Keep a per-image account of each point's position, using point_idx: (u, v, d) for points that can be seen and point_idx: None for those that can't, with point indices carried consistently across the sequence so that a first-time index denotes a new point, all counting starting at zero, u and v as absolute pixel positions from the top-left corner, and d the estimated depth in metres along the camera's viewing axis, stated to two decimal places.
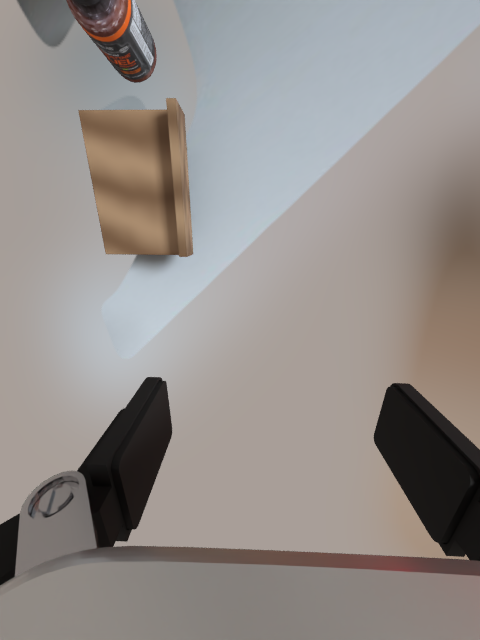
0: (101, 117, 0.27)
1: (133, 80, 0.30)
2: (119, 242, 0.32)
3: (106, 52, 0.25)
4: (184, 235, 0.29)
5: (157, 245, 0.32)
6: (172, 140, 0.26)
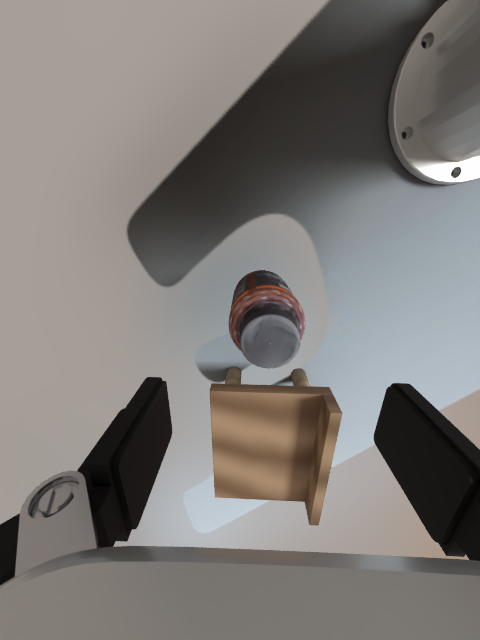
0: (235, 397, 0.23)
1: None
2: (232, 489, 0.28)
3: None
4: (320, 510, 0.25)
5: (276, 493, 0.28)
6: (328, 443, 0.22)
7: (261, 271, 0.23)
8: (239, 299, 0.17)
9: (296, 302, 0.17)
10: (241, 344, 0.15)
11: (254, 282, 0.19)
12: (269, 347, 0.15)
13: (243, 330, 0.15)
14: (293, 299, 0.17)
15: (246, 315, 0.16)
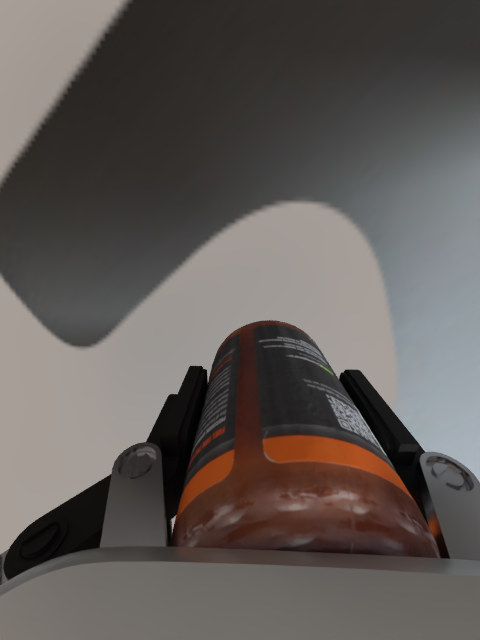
0: None
1: None
2: None
3: None
4: None
5: None
6: None
7: (269, 327, 0.11)
8: (202, 496, 0.05)
9: (422, 527, 0.04)
10: None
11: (255, 388, 0.07)
12: None
13: None
14: (412, 519, 0.04)
15: None
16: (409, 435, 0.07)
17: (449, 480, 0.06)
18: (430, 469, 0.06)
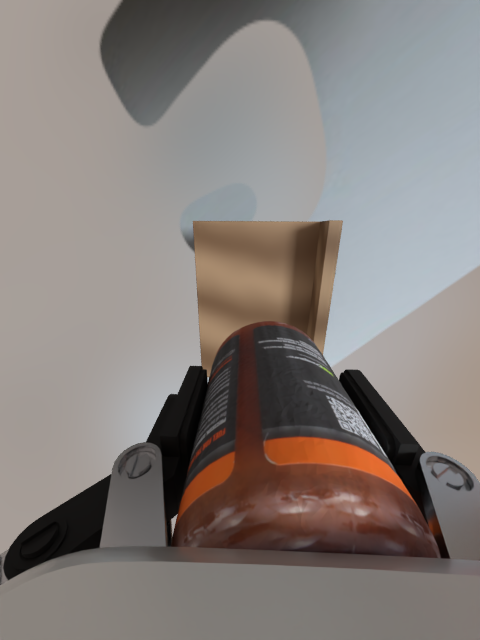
0: (222, 229, 0.20)
1: None
2: None
3: None
4: None
5: None
6: (327, 268, 0.19)
7: (269, 328, 0.11)
8: (202, 499, 0.05)
9: (423, 529, 0.04)
10: None
11: (255, 389, 0.07)
12: None
13: None
14: (413, 521, 0.04)
15: None
16: (409, 435, 0.07)
17: (450, 480, 0.06)
18: (430, 469, 0.06)
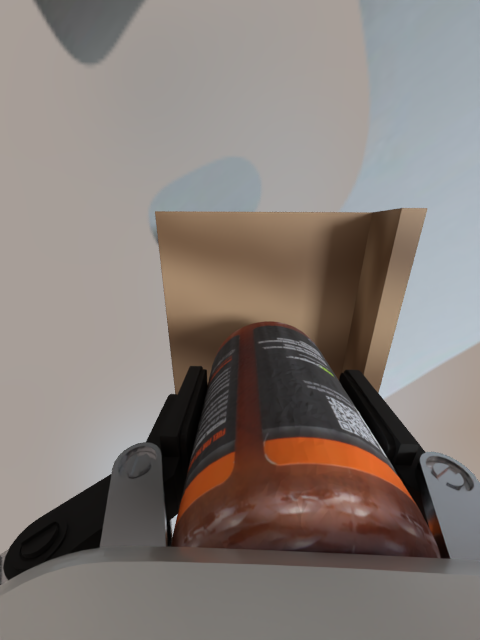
0: (205, 226, 0.12)
1: None
2: None
3: None
4: None
5: None
6: (388, 295, 0.11)
7: (269, 328, 0.11)
8: (202, 499, 0.05)
9: (423, 529, 0.04)
10: None
11: (255, 390, 0.07)
12: None
13: None
14: (413, 521, 0.04)
15: None
16: (409, 435, 0.07)
17: (449, 480, 0.06)
18: (430, 469, 0.06)
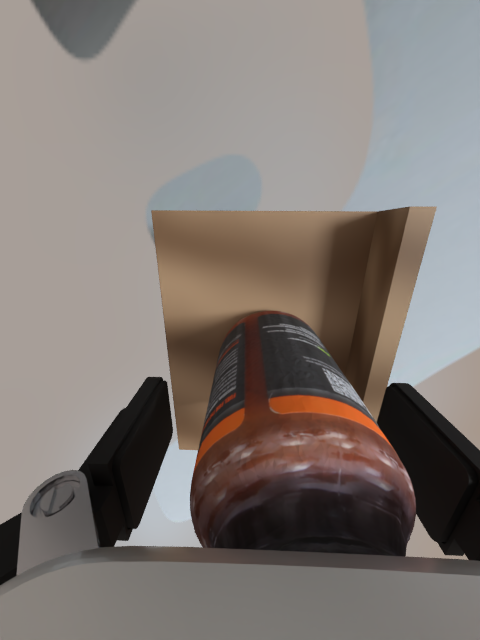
0: (203, 226, 0.12)
1: None
2: None
3: None
4: None
5: None
6: (395, 298, 0.10)
7: (272, 315, 0.12)
8: (218, 443, 0.06)
9: (398, 464, 0.05)
10: None
11: (261, 363, 0.08)
12: None
13: None
14: (389, 457, 0.05)
15: (238, 529, 0.05)
16: None
17: None
18: None
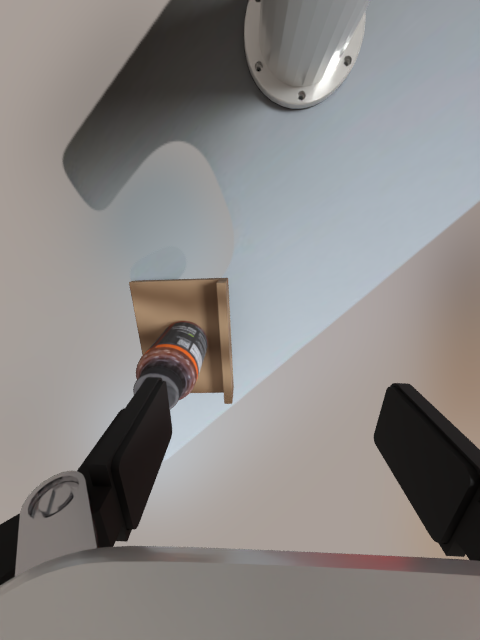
0: (150, 287, 0.28)
1: None
2: None
3: None
4: (230, 386, 0.30)
5: (200, 385, 0.33)
6: (221, 314, 0.27)
7: (179, 323, 0.28)
8: (142, 356, 0.22)
9: (184, 358, 0.22)
10: None
11: (162, 338, 0.24)
12: None
13: (134, 385, 0.20)
14: (181, 356, 0.22)
15: (143, 371, 0.21)
16: None
17: None
18: None
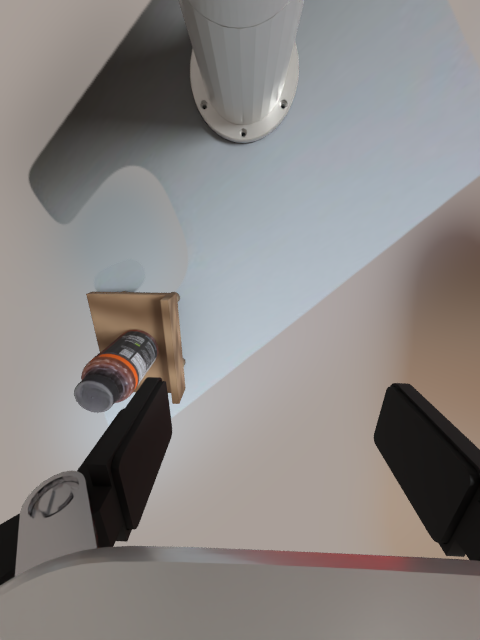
0: (105, 299, 0.32)
1: None
2: None
3: None
4: (176, 389, 0.34)
5: None
6: (165, 326, 0.30)
7: (131, 332, 0.32)
8: (87, 364, 0.26)
9: (122, 367, 0.25)
10: (75, 398, 0.24)
11: (108, 347, 0.28)
12: (92, 399, 0.24)
13: None
14: (119, 365, 0.25)
15: (85, 377, 0.25)
16: None
17: None
18: None
